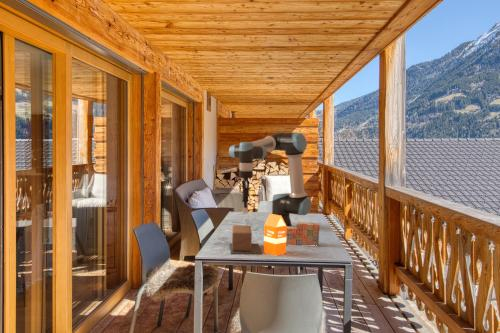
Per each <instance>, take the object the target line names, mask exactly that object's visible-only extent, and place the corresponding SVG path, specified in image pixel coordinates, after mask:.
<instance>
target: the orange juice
mask: <svg viewBox="0 0 500 333" xmlns="http://www.w3.org/2000/svg"><path fill="white" fill-rule="evenodd" d="M286 228H287V226H286V224H285V222H284V220H283V218H282V216H280V215H275V214H272V213H269V214H268V217H267V219H266V221H265V223H264V229H263V230H264V231H263V234H264V235H263V253H266V254H269V255H272V256H275V255H276V256H280V254H281V255H285V254H284V253H287V244H286Z"/></svg>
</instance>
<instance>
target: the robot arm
mask: <svg viewBox="0 0 500 333" xmlns="http://www.w3.org/2000/svg"><path fill="white" fill-rule="evenodd" d="M307 146H308V143H307V138H306V136H305V135H304V133H302V132H301V133H300V132H278V133H274V134H270V135H266V136H265V137H264V138H262V139H258V140H254V141H250V142H249V141H248V142H246V141H245V142H244V141H241V142H240V143H239V144H233V145H230V147H229V149H228V155H229V157H231V158H232V159H239V161H238V164H237V166H238V169H239V171H238V177H239V178H240V179H242V180H241V188H242V200H241V202H242V214H243V215H244V214H249V213H248V212H249V201H250V199H249V189H250V183H251V182H250V180H249V179H251V178H253V174H254V172H253V170H254V160H262V159H265V157H267V153H268V152H267V151H269V152H271V151H283V152H284V153H285V156H286V157H287V161H288V169H289V170H288V171H289V172H288V173H289V182H290V192H289V193H287V192H285V193H284V192H283V193H276V194H274V195H273V196H272V200H271V201H272V203H271V204H272V206H271V207H272V208H271V209H272V210H271V212H272V213H271V214H275V215H280V216H282V218H283V220H284V222H285V224H286V226H289V227H293V225H292V221H291V218H290V215H297V216H306V215H308V214H309V212H310V210H311V208H312V199H311V198H310V197H308V194H307V192H305V184H304V182H305V181H304V172H303V171H304V170H303V159H302V156H303V155H304V153H305V151H306V149H307Z"/></svg>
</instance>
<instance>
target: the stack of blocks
mask: <svg viewBox="0 0 500 333" xmlns="http://www.w3.org/2000/svg"><path fill="white" fill-rule="evenodd" d="M319 240H320V223H318V222H317V223H316V222H305V221H297V223H296V226H292V227H289V226H287V228H286V245H289V244H291V245H293V246H302V245H315V246H316V245H317V246H318V247H319V244H318V243H319ZM315 246H314V247H315Z"/></svg>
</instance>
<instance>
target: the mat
mask: <svg viewBox="0 0 500 333" xmlns="http://www.w3.org/2000/svg"><path fill="white" fill-rule="evenodd" d="M229 250H230V251H229V253H230V255H262V254H263V252H262V250H261V248H260V244H259V243H252V244H251V251H232V242H231V243H229Z"/></svg>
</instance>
